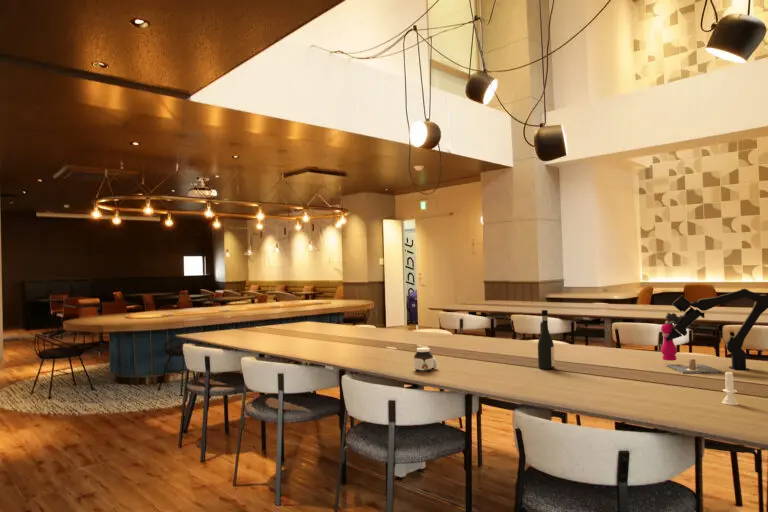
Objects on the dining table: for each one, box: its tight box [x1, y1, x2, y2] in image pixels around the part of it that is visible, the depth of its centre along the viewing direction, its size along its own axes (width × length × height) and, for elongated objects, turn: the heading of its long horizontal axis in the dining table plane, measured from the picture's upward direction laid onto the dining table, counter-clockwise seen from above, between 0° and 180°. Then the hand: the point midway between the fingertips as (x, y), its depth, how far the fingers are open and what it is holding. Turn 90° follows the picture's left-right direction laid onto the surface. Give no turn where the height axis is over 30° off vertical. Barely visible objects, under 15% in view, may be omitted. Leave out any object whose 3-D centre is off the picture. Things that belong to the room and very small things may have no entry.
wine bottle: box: [537, 309, 555, 370], centre depth 275 cm, size 8×8×30 cm
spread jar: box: [413, 346, 439, 372], centre depth 279 cm, size 12×11×12 cm
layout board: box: [666, 358, 723, 374], centre depth 261 cm, size 17×18×6 cm
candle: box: [721, 371, 739, 406], centre depth 200 cm, size 5×5×12 cm
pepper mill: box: [660, 320, 678, 362], centre depth 274 cm, size 7×7×20 cm
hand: (665, 339), depth 274 cm, fingers closed on pepper mill, 5 cm apart
